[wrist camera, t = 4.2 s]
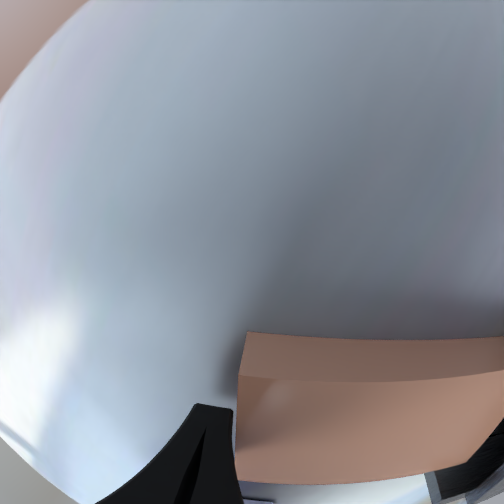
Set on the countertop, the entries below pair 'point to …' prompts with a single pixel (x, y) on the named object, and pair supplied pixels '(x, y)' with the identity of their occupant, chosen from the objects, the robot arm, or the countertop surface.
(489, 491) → the low gray notched block
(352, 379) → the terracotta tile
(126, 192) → the countertop surface
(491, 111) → the countertop surface
